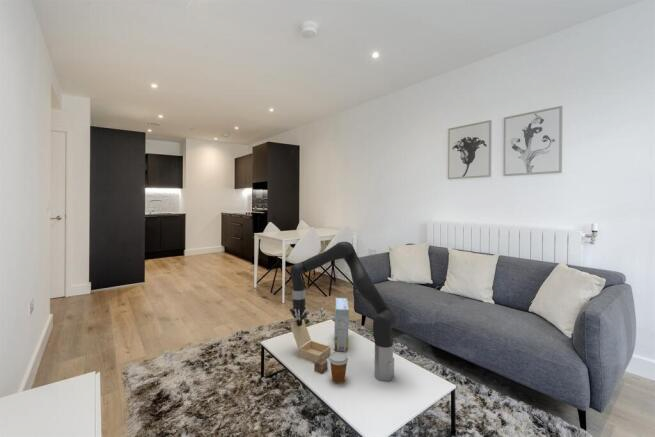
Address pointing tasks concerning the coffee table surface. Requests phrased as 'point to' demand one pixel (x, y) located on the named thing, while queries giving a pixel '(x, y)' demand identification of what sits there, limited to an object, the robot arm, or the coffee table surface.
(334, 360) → the disposable coffee cup
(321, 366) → the walnut block
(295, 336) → the mailer lid
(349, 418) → the coffee table surface
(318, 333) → the coffee table surface
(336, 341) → the snack box
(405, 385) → the coffee table surface
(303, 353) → the base
